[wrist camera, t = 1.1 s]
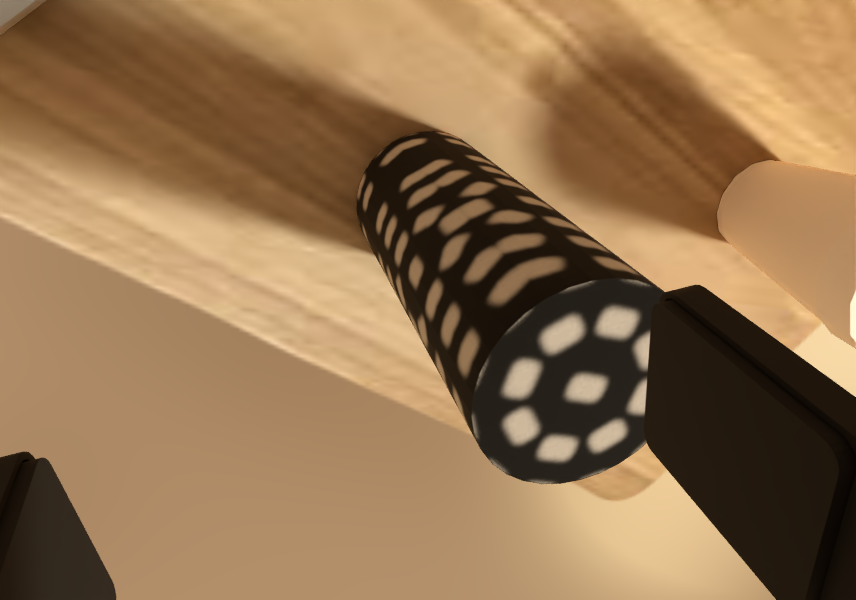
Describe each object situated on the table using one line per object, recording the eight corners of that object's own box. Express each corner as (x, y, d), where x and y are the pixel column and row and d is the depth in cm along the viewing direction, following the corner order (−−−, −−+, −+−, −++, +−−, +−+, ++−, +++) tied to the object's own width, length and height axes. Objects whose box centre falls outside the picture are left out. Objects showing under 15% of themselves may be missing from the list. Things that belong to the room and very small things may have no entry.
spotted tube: (339, 251, 40) (437, 476, 23) (380, 113, 37) (527, 255, 20) (464, 276, 43) (631, 490, 26) (510, 151, 40) (733, 301, 23)
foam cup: (689, 171, 44) (849, 245, 33) (810, 114, 45) (1007, 168, 34) (706, 286, 49) (850, 384, 38) (815, 233, 50) (987, 314, 39)
